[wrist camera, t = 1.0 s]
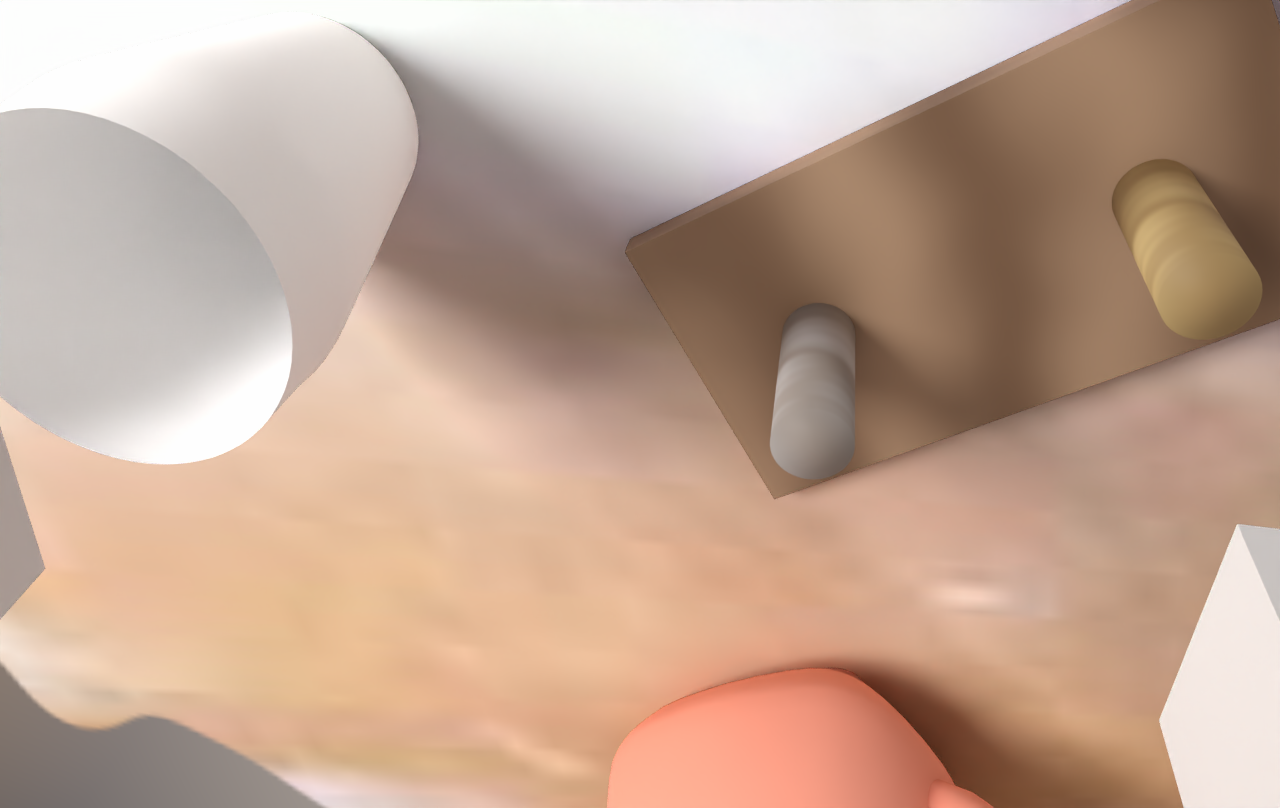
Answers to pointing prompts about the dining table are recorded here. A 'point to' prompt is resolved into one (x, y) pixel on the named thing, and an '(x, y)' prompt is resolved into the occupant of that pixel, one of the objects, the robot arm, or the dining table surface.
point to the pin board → (989, 242)
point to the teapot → (782, 750)
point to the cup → (192, 229)
